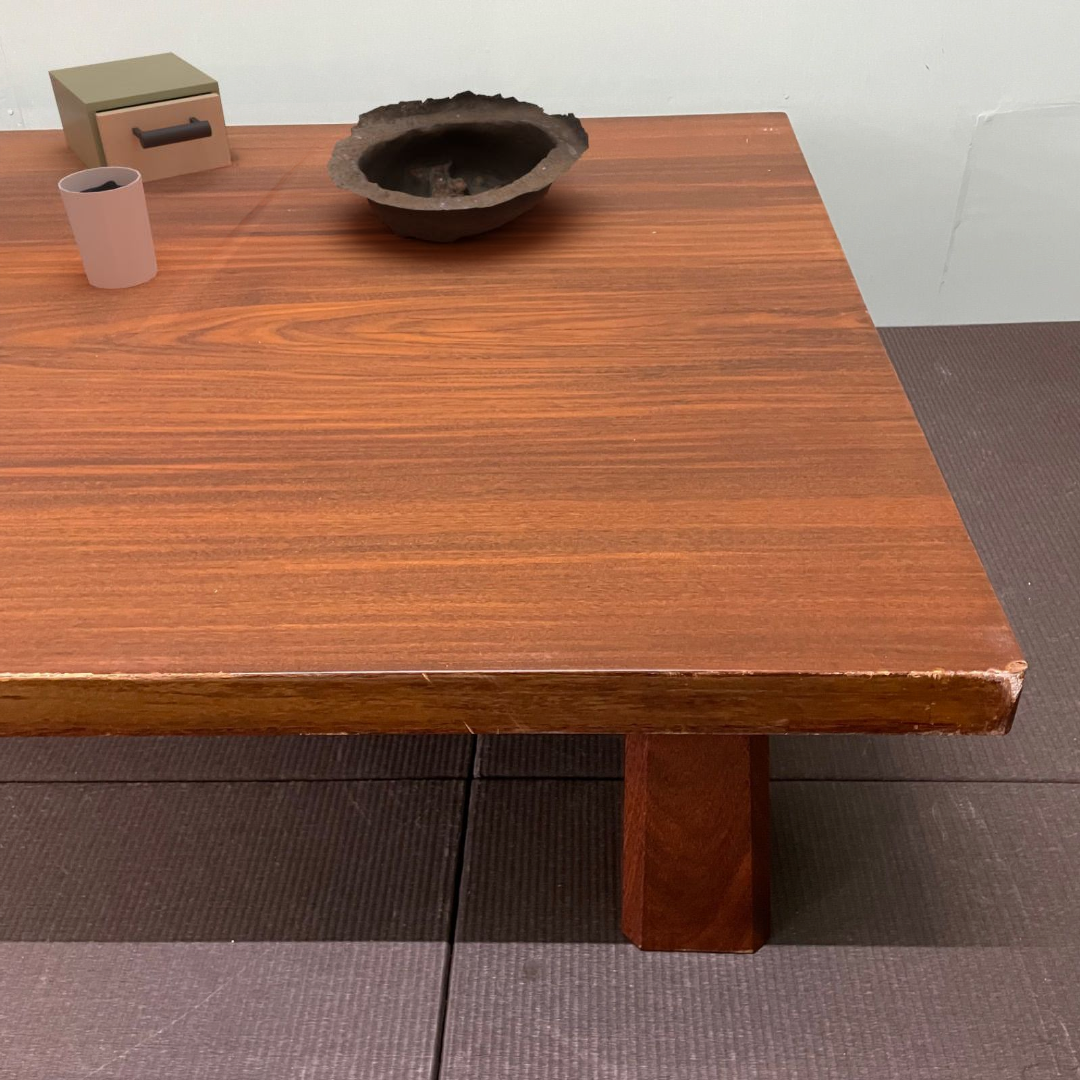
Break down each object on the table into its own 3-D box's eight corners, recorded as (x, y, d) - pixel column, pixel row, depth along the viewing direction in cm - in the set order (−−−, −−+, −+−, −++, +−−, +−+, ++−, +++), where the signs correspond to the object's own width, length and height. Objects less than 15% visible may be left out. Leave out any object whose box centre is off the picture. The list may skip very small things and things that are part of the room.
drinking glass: (89, 282, 105) (60, 171, 99) (165, 273, 106) (141, 163, 100) (86, 312, 99) (55, 197, 94) (166, 302, 101) (140, 188, 95)
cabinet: (234, 174, 128) (217, 81, 122) (108, 199, 122) (85, 103, 117) (188, 138, 139) (171, 52, 133) (71, 160, 133) (48, 71, 128)
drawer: (247, 182, 123) (234, 105, 118) (129, 207, 118) (110, 127, 113) (189, 137, 136) (176, 66, 132) (80, 157, 131) (62, 84, 126)
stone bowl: (532, 160, 128) (533, 74, 123) (621, 258, 110) (628, 162, 105) (310, 188, 122) (299, 98, 116) (366, 296, 104) (357, 196, 98)
